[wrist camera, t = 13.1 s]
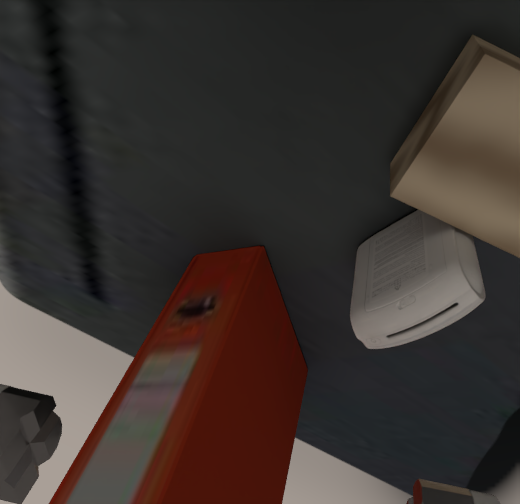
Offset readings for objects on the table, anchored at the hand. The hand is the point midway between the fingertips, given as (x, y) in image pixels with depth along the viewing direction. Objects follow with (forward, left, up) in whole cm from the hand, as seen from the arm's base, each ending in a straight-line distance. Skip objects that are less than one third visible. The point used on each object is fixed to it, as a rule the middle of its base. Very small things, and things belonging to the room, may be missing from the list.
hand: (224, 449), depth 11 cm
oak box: (+4, +12, -33) cm, 36 cm away
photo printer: (+14, +8, -33) cm, 37 cm away
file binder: (+27, -6, -33) cm, 43 cm away
